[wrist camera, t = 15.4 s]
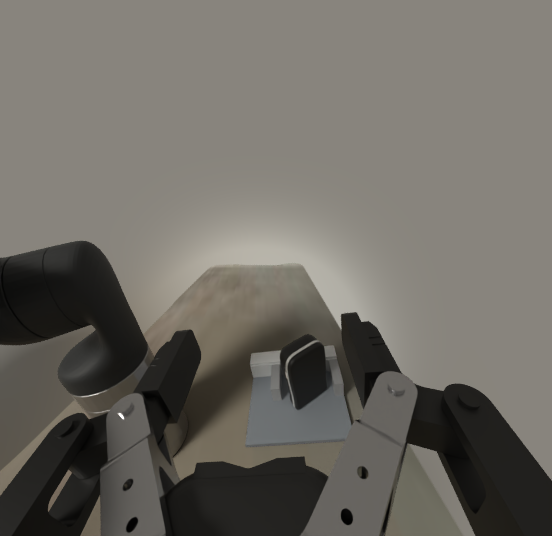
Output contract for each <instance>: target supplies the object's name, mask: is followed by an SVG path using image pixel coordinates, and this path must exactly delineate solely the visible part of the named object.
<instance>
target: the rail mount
mask: <svg viewBox="0 0 552 536" xmlns="http://www.w3.org/2000/svg"><path fill="white" fill-rule="evenodd" d="M324 349H325V357H326V381H327V389H326V390H325V391H324V392H322V393H321V394H320V395H318V396H317V397H316V398H314V399H313V400H312V401H310V402H309V403H308V404H306V405H305V406H303V407H302V408H301V409H299V410H297V409H296V408H295V407H294V406H293V404H292V402H291V400H290V396H289V395H290V391H289V387H288V384H287V380H286V378H285V377H284V375H283V374H282V369H281V364H280V352H281V350H280V351H269V352H259V353H251V360H250V367H251V371H252V374H253V386H252V394H251V403H250V411H249V420H248V428H247V437H246V447H258V446H274V445H290V444H305V443H321V442H337V441H345V440H346V438H347V436H348V433H349V431H350V429H351V427H352V425H351V421H350V417H349V413H348V409H347V405H346V401H345V398H344V383H343V380H342V376H341V372H340V368H339V365H338V361H337V356H336V352H335V348H334V345H331V346H324Z"/></svg>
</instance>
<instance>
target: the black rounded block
mask: <svg viewBox="0 0 552 536" xmlns="http://www.w3.org/2000/svg"><path fill="white" fill-rule="evenodd" d="M280 364H281V369H282V374H283V375H284V377H285V378H286V380H287V384H288V387H289V391H290V395H289V396H290V400H291V402H292V404H293V406H294V407H295V408H296V409H297V410H299V409H301V408H302V407H303V406H305V405H306V404H308V403H309V402H310V401H312V400H313V399H314V398H316V397H317V396H318V395H320V394H321V393H322V392H324V391H325V390H326V389H327V381H326V357H325V349H324V346H323V345H322V343H321V342H320V341H319V340H317V339H316V338H315V337H313V336H312V335H309V334H307V335H304V336H302V337H300V338H299V339H297V340H295V341H293V342H292V343H290V344H288V345H287V346H285V347H284V348H283V349H282V350H281V352H280Z"/></svg>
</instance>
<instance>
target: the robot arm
mask: <svg viewBox="0 0 552 536" xmlns="http://www.w3.org/2000/svg"><path fill="white" fill-rule="evenodd" d="M88 325H92V326H93V327H94V328H95V329H96V330H95V331H94V332H93V333H92V334H90V335H89V336H88V337H86V338H85V339H83V340H82V341H81V342H79V343H78V344H77V345H76V346H75V347H73V348H72V349H71V350H70V352H68V354H67V355H66V356H65V357H64V359H63V360H62V362H61V364H60V366H59V368H58V378H59V380H60V382H61V383H62V385H63V386H64V387H65V388H66V389H67V391H68V392H69V393H70V394H71V395H72V396H73V398H74V399H75V400H76V401H77V402H78V404H79V405H80V406H81V407H82V408H83V409H84V410H85V412H86V413H87V414H88V415H89V416H90V418H91V419H88V418H87V416H86V415H85V414H83V413H76V414H73V415H71V416H69V417H67V418H65V419H64V420H62V421H61V422H59V423H58V424H57V425H56V426H55V427H54V428H53V429H52V430H51V431H50V432H49V433H48V435H47V436H46V437H45V439H44V440H43V441H42V443H41V444H40V445H39V446H38V448H37V449H36V450H35V452H34V453H33V454H32V456H31V457H30V458H29V459H28V461H27V462H26V463H25V465H24V466H23V467H22V469H21V470H20V471H19V472H18V474H17V475H16V476H15V478H14V479H13V480H12V482H11V483H10V484H9V485H8V487H7V488H6V489H5V491H4V492H3V493H2V495H1V496H0V536H80V535H81V533H82V531H83V529H84V527H85V525H86V522H87V520H88V518H89V516H90V514H91V512H92V510H93V508H94V506H95V504H96V502H97V500H98V497H99V495H100V503H101V536H385V534H386V530H387V526H388V522H389V518H390V514H391V510H392V506H393V502H394V497H395V493H396V488H397V484H398V480H399V477H400V473H401V469H402V465H403V461H404V457H405V453H406V449H407V445H408V443H409V444H413V445H416V446H420V447H423V448H427V449H430V450H434V451H437V453H438V455H439V458H440V460H441V462H442V464H443V466H444V468H445V471H446V473H447V475H448V477H449V479H450V482H451V484H452V486H453V488H454V490H455V492H456V494H457V497H458V499H459V501H460V503H461V505H462V508H463V510H464V512H465V514H466V516H467V518H468V520H469V523H470V525H471V527H472V529H473V531H474V534H475V536H552V481H551V479H550V478H549V477H548V476H547V474H546V473H545V472H544V470H543V469H542V468H541V466H540V465H539V464H538V462H537V461H536V460H535V458H534V457H533V456H532V455H531V453H530V452H529V451H528V449H527V448H526V447H525V445H524V444H523V443H522V441H521V440H520V439H519V438H518V436H517V435H516V434H515V432H514V431H513V430H512V429H511V427H510V426H509V424H508V423H507V422H506V421H505V419H504V418H503V417H502V415H501V414H500V413H499V411H498V410H497V409H496V407H495V406H494V405H493V404H492V402H491V401H490V400H489V399H488V398H487V397H486V396H485V395H484V394H483V393H481V392H480V391H478V390H476V389H475V388H472V387H470V386H467V385H464V384H451V385H449V386H447V387H446V388H445V390H444V391H440V390H435V389H430V388H425V387H421V386H419V385H416V384H414V383H413V382H412V381H411V380H410V379H409V378H408V377H407V376H405V375H403V374H402V373H401V371H400V369H399V368H398V366H397V364H396V362H395V360H394V358H393V357H392V355H391V353H390V351H389V349H388V347H387V346H386V345H385V342H384V340H383V338H382V336H381V334H380V333H379V331H378V329H377V328H376V327H375V326H374V325H373V324H371V323H370V322H369V321H368V322H361V320H360V319H359V316H358V314H357V313H356V312H354V313H345V314H341V326H342V342H343V347H344V350H345V353H346V357H347V360H348V363H349V366H350V369H351V372H352V375H353V378H354V382H355V385H356V388H357V391H358V394H359V397H360V400H361V404H362V407H363V412H362V414H361V416H360V418H359V420H355V421H354V423H353V425H352V427H351V429H350V431H349V433H348V436H347V438H346V440H345V442H344V444H343V447H342V449H341V451H340V453H339V456H338V458H337V460H336V462H335V464H334V467H333V469H332V471H331V473H330V476H329V477H328V476H327V475H325V474H324V473H322V472H320V471H319V470H317V469H314V468H312V467H309V466H306V463H305V458H304V457H289V458H276V459H274V460H271V461H268V462H266V463H263V464H260V465H258V466H255V467H252V468H244V467H240V466H237V465H233V464H230V463H226V462H223V461H221V462H204V463H197V464H196V468H195V472H194V473H193V474H191V475H189V476H187V477H186V478H184V479H183V480H181V481H180V479H179V477H178V474H177V472H176V468H175V465H174V461H173V458H172V457H173V456H174V455H175V454H176V453H177V451H178V450H179V448H180V447H181V445H182V444H183V442H184V440H185V437H186V434H187V431H188V420H187V417H186V415H185V413H184V411H183V406H184V403H185V401H186V398H187V395H188V393H189V390H190V387H191V385H192V382H193V379H194V377H195V374H196V371H197V369H198V366H199V364H200V360H201V351H200V348H199V345H198V343H197V340H196V338H195V336H194V333H193V331H192V330H183V331H176V332H175V334H174V335H173V337H172V339H171V340H170V342H166V343H165V344H164V345H163V346H162V347H161V348H160V349H159V350H158V352H157V354H156V355H155V357H154V355H153V353H152V351H151V350H150V348H149V346H148V344H147V342H146V340H145V338H144V336H143V334H142V332H141V330H140V327H139V325H138V323H137V321H136V318H135V316H134V314H133V313H132V310H131V309H130V306H129V304H128V302H127V300H126V298H125V296H124V293H123V291H122V289H121V286H120V284H119V282H118V279H117V277H116V275H115V273H114V271H113V269H112V267H111V265H110V263H109V261H108V260H107V258H106V256H105V255H104V254H103V253H102V252H101V250H100V249H99V248H97V247H96V246H95V245H94V244H92V243H90V242H87V241H75V242H70V243H66V244H61V245H57V246H53V247H48V248H44V249H40V250H36V251H31V252H28V253H23V254H19V255H15V256H10V257H6V258H0V345H26V344H32V343H37V342H41V341H45V340H48V339H51V338H53V337H56V336H59V335H62V334H65V333H68V332H71V331H74V330H77V329H80V328H83V327H86V326H88ZM68 469H69V470H70V471H71V472H72V474H71V476H70V477H69V479H68V481H67V482H66V484H65V486H64V487H63V489H62V491H61V492H60V494H59V496H58V497H57V499H56V501H55V502H54V504H53V506H52V507H51V509H50V511H49V512H48V504H49V501H50V499H51V497H52V495H53V493H54V492H55V490H56V489H57V487H58V485H59V484H60V482H61V480H62V479H63V477H64V476H65V474H66V472H67V471H68Z"/></svg>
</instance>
